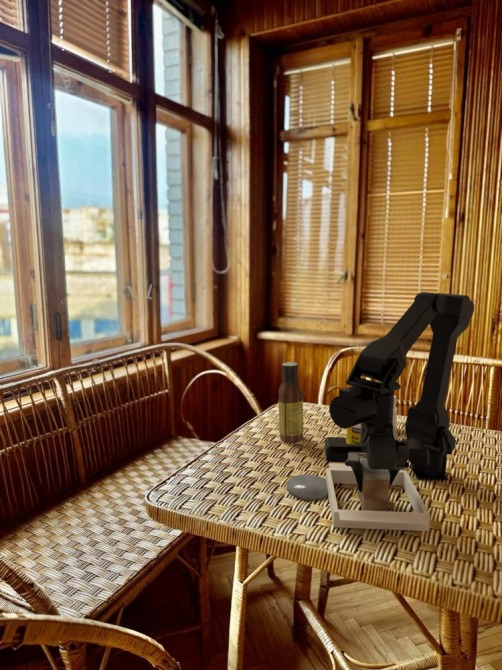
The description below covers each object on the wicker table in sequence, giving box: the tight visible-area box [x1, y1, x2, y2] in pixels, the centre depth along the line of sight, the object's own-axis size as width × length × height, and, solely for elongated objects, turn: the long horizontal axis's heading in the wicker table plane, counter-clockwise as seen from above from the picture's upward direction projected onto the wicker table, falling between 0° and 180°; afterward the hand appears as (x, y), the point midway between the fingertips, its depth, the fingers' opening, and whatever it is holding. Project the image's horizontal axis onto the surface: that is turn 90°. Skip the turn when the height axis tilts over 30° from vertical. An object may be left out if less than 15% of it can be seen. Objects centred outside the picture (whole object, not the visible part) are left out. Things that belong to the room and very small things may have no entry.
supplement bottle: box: [345, 424, 367, 459], centre depth 113 cm, size 6×6×10 cm
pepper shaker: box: [393, 394, 398, 431], centre depth 128 cm, size 4×4×10 cm
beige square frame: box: [325, 462, 431, 532], centre depth 92 cm, size 17×21×3 cm
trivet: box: [286, 474, 328, 501], centre depth 98 cm, size 9×9×1 cm
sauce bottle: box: [278, 361, 304, 443], centre depth 121 cm, size 7×6×20 cm
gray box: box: [357, 457, 390, 511], centre depth 91 cm, size 4×6×8 cm
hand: (373, 491), depth 92 cm, fingers closed on gray box, 4 cm apart
